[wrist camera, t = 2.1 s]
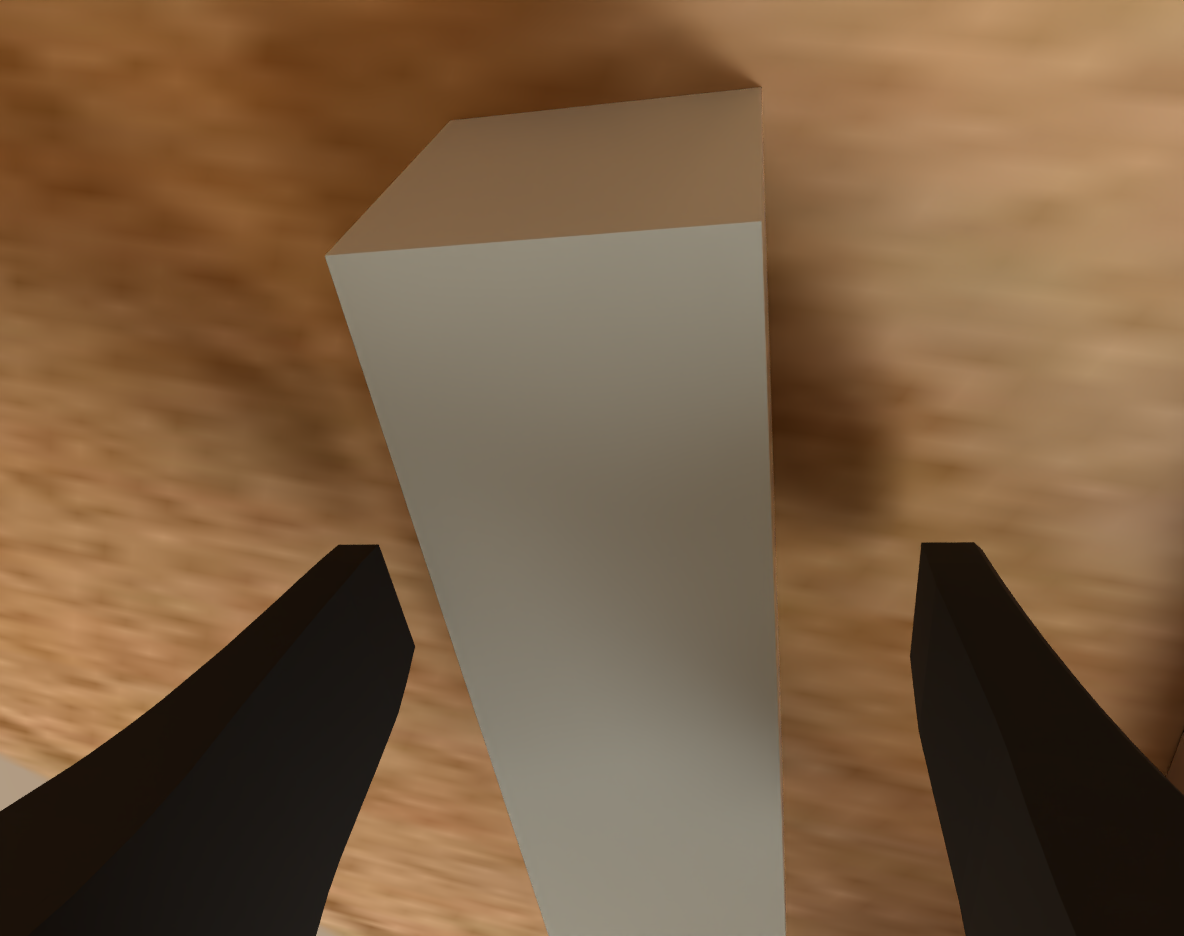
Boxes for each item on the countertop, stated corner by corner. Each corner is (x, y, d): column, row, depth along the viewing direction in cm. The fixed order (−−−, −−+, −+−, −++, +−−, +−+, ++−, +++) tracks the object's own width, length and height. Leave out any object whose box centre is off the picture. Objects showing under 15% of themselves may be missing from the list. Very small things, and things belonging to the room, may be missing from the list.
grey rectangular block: (782, 763, 17) (787, 990, 14) (596, 756, 18) (560, 970, 14) (761, 82, 10) (761, 221, 7) (455, 114, 11) (325, 255, 7)
